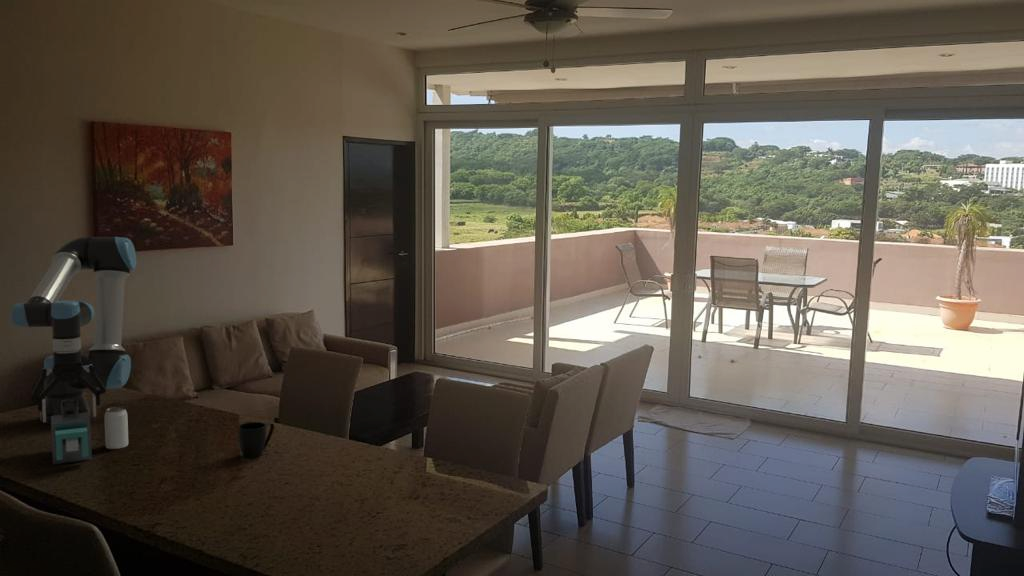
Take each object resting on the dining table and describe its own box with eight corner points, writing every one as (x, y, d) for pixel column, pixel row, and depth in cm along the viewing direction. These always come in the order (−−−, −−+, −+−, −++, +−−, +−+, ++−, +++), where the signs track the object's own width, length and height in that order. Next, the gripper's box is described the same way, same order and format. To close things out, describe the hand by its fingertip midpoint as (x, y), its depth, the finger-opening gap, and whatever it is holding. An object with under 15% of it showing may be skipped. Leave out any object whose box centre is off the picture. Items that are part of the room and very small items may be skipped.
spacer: (56, 456, 228) (55, 430, 227) (87, 452, 232) (86, 427, 231) (56, 460, 224) (55, 434, 223) (88, 456, 228) (87, 431, 227)
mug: (282, 452, 245) (281, 422, 244) (249, 462, 235) (248, 431, 234) (265, 446, 250) (265, 417, 248) (232, 456, 240) (232, 426, 239)
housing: (52, 454, 238) (51, 415, 236) (90, 449, 243) (88, 411, 241) (52, 464, 229) (51, 424, 228) (91, 459, 234) (90, 420, 233)
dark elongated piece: (62, 427, 245) (61, 399, 244) (78, 425, 247) (77, 398, 246) (63, 452, 222) (62, 421, 221) (81, 450, 224) (80, 419, 223)
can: (121, 450, 243) (120, 412, 242) (101, 449, 243) (99, 411, 242) (132, 443, 250) (131, 406, 248) (112, 442, 250) (110, 406, 248)
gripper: (18, 356, 231) (22, 426, 234) (113, 350, 244) (115, 416, 246) (19, 352, 238) (23, 420, 240) (111, 345, 250) (114, 410, 253)
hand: (70, 418), depth 243 cm, fingers open, 13 cm apart
